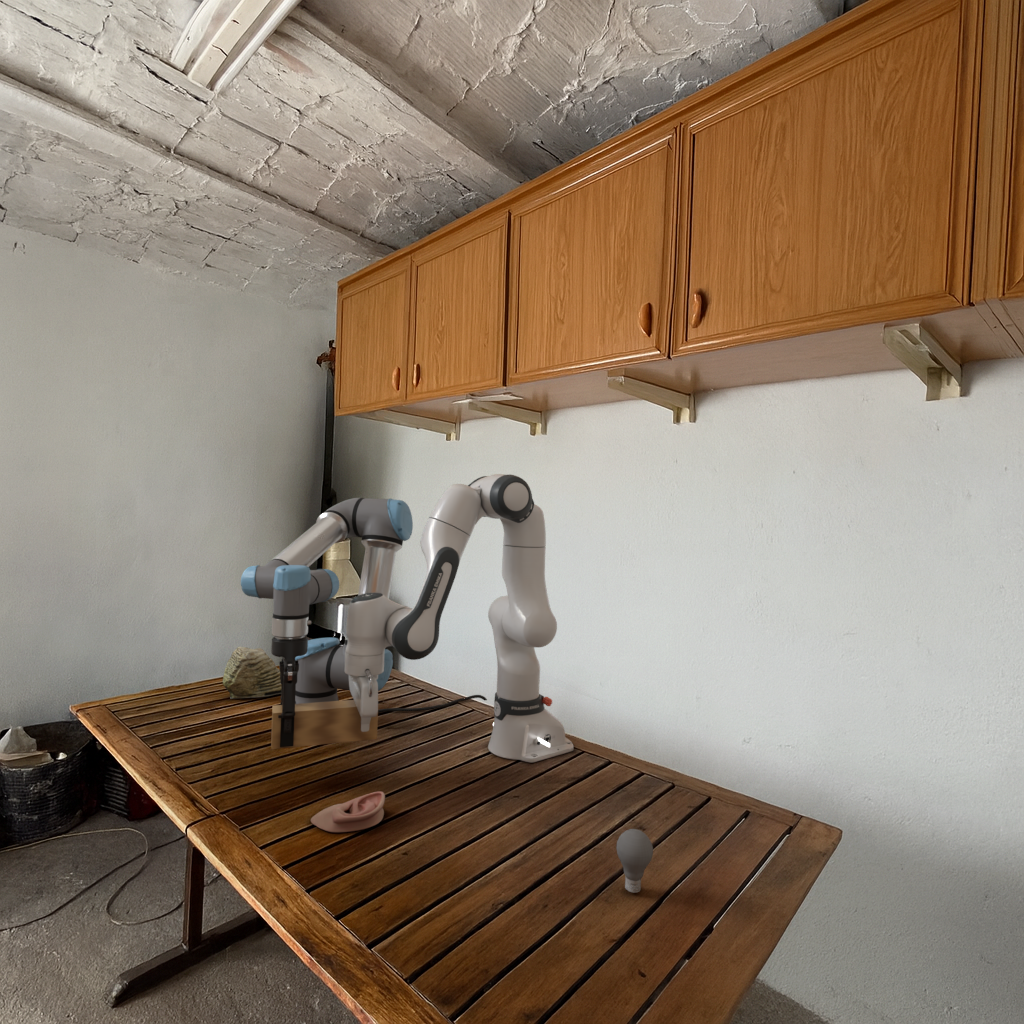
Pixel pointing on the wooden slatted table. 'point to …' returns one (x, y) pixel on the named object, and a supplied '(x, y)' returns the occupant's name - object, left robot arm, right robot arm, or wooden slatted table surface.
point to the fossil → (251, 674)
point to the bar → (323, 724)
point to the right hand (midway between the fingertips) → (361, 724)
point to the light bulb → (634, 857)
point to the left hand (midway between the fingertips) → (286, 740)
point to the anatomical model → (352, 814)
